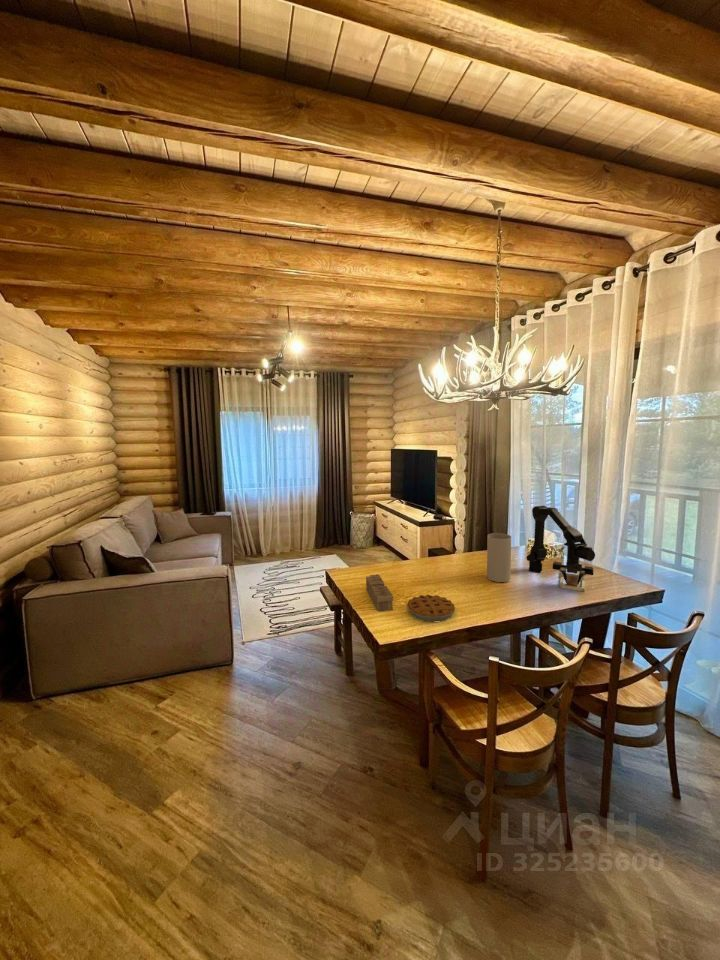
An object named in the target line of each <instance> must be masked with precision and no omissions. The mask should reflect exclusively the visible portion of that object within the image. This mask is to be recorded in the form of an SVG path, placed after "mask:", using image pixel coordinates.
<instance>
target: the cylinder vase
mask: <svg viewBox="0 0 720 960" xmlns="http://www.w3.org/2000/svg"><path fill="white" fill-rule="evenodd" d="M486 544H487V546H486V547H487V550H486V552H487V553H486V579H488V580H489V581H491V582H493V581H495V582H494V583H499V582H504V583H508V582H510V580H511V570H512V569H511V566H512V565H511V564H512V558H511V557H512V535H510V534H507V533H501V532H493V533H489V534H487V541H486Z"/></svg>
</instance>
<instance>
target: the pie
mask: <svg viewBox="0 0 720 960" xmlns="http://www.w3.org/2000/svg"><path fill="white" fill-rule="evenodd" d="M406 607H407V609H408V611H410V613H411V615H412V616H413V615H414V616H415V617H414V616H413V617H414V618H415V619H417V618H418V619H417V620H419V619H420V621H421V620H423V621H422V622H427V621H430V622H429V623H432V622H431V621H440V622H442V620H444V621H447V620H449V619H450V617H451V618H452V616H453V614H454V613H455V611H456V607H455V604H454V603H453V602H452V600H450V599H448V598H446V597H443V596H440V595H438V594H436V595H432V594H426V595H423V594H421V595H419V596H413V597H412V599H411V598H410V599H409V600H408V601H407V604H406ZM448 618H449V619H448ZM446 619H447V620H446Z"/></svg>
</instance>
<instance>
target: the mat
mask: <svg viewBox="0 0 720 960" xmlns="http://www.w3.org/2000/svg"><path fill="white" fill-rule="evenodd" d="M567 573H568V572H566V574H567ZM575 575H578V577H579V574H575ZM561 577H564V576H563V574H562V572H560V571H559V575H558V579H561ZM584 578H585V575H584V576H583V577H582V578H581V580H580V582H579V583H582V581H585V579H584Z"/></svg>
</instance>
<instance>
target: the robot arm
mask: <svg viewBox="0 0 720 960" xmlns="http://www.w3.org/2000/svg"><path fill="white" fill-rule="evenodd" d="M531 511H532V513H531V514H532V518H533V520H534V536H533V537H534V538H533V539H534V541H533V545H532V547H531V548H530V553H528V555H526V561H528V563H529V565H528V566H529V567H528V572H531V573H532V572H533V573H538V574H541V572H542V571H543V562H544V561H545V560H546V559H545V558H546V557H547V556H548V548H546V547H545V545H544V541H545V539H544V538H545V524H546V523H545V521H546V520H547V519H548V517H550V518H551V519H552V521H553V522H554V523H555V524H556V526H558V528H559V529H560V531H562V534H563V535H562V536H563V537H564V539H565V541H566V542H565V543H564V544H563V545H564V546H567V548H566V549H567V550H566V551H567V552H566V564H562V563H563V562H560V561H559V562H558V561H553V563H552V570H555V571H558V572H559V573H560V572H562V574H563V576H564V581H565V583H566V581H567V574H566V573H569V574H576V575H579V577H578V583H577V585H579V584H580V583H581V582H580V580H581V578H582V577H583V576H584V577H585V576H587V575H588V576H593V575H594V567H593V566H588V565H585V566H584V567H583V564H580V559H581V560H582V559H583V560H585V561H589V562H592V561H594V559H595V558H596V553H595V551H594V550H593V547H591V546H588V544H587V542H586V540H585V539H584V536H583V534H582V533H581V532H580V531H579V530H578V529H576V528H575V527H573V526H571V524H570V523H569V522H568V521H567V520H566V519H565V518H564V516H563V515H562V514H561V513H560V512H559V510H558V508H556V507H549V506H548V507H547V506H546V505H535V506H534V507H532V510H531ZM578 572H579V573H578Z"/></svg>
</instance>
